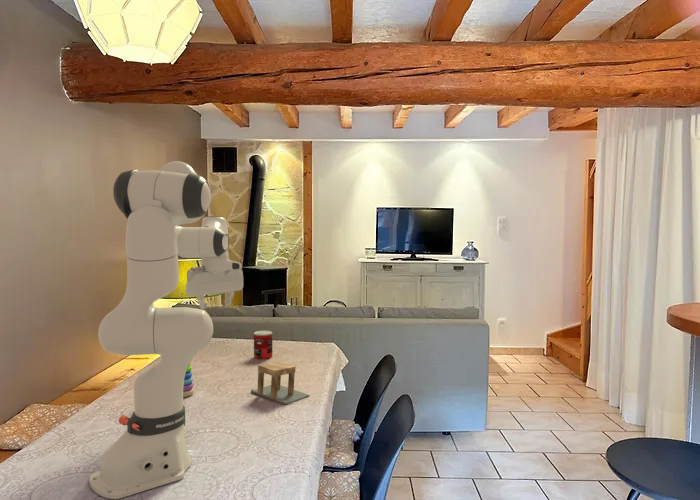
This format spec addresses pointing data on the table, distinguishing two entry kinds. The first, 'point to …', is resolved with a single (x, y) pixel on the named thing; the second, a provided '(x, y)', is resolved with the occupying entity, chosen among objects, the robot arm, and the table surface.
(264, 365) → the stool
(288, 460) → the table surface
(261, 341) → the canned food
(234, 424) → the table surface
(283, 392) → the mat
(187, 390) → the stacking toy
